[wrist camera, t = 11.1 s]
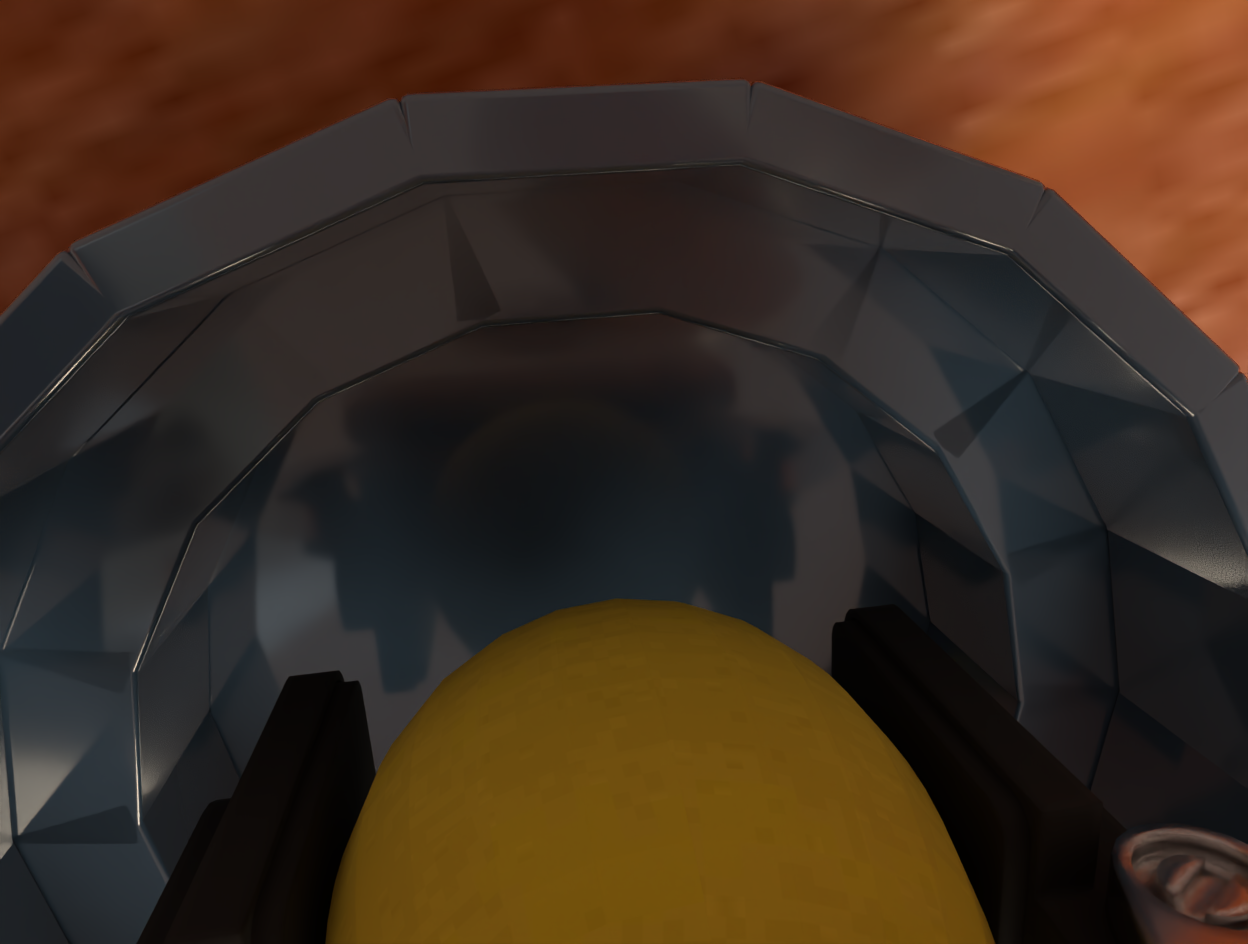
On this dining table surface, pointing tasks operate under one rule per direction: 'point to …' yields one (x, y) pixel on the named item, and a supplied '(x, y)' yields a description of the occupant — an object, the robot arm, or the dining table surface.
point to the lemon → (647, 800)
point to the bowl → (593, 449)
